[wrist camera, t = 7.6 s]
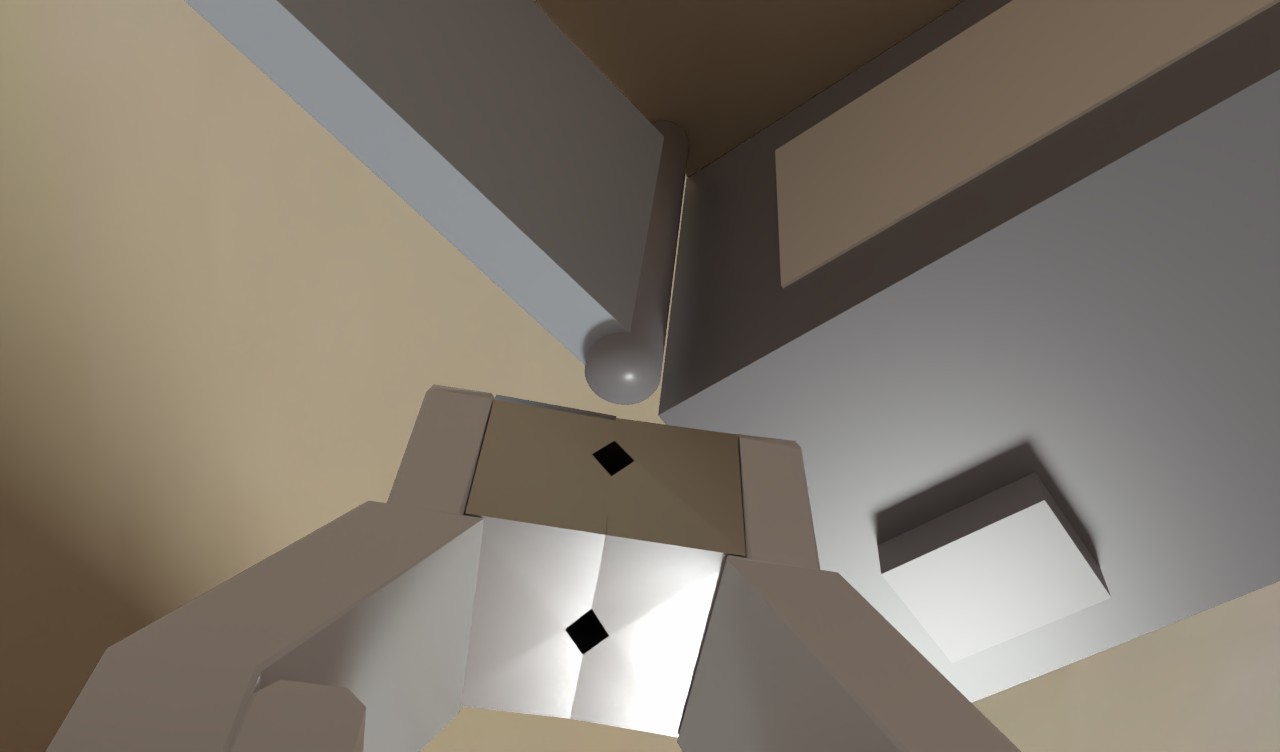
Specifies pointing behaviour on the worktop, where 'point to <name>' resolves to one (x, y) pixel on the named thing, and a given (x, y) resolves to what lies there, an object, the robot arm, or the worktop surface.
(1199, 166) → the camera body
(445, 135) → the side door
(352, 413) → the worktop surface
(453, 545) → the robot arm
